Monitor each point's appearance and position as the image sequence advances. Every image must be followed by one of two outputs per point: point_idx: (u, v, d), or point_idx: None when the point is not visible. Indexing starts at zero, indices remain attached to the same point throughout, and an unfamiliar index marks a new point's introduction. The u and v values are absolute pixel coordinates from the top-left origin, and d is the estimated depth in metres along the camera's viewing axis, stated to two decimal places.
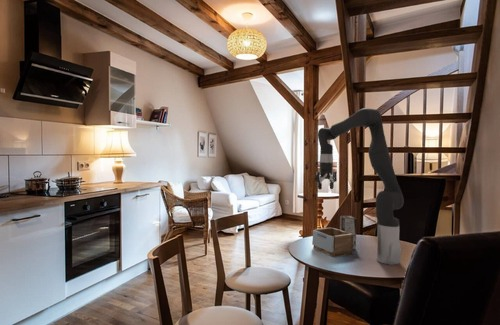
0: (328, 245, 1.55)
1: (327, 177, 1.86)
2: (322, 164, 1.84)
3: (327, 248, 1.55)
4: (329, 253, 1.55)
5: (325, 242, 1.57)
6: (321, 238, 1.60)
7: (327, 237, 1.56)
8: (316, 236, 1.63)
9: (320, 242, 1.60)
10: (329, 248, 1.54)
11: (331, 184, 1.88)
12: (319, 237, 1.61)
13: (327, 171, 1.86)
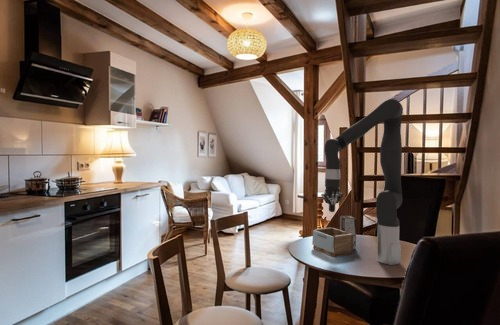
0: (328, 245, 1.55)
1: (334, 196, 1.60)
2: (328, 181, 1.59)
3: (327, 248, 1.55)
4: (329, 253, 1.55)
5: (325, 242, 1.57)
6: (321, 238, 1.60)
7: (327, 237, 1.56)
8: (316, 236, 1.63)
9: (320, 242, 1.60)
10: (329, 248, 1.54)
11: None
12: (319, 237, 1.61)
13: (334, 189, 1.60)
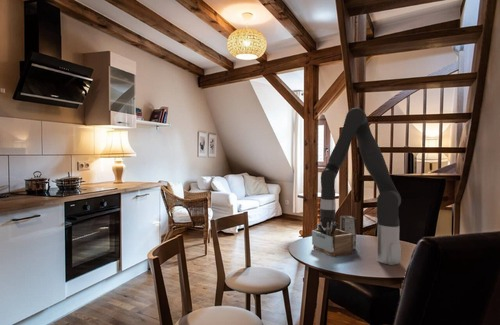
0: (327, 245, 1.54)
1: (329, 226, 1.60)
2: (322, 211, 1.58)
3: (327, 248, 1.55)
4: (329, 253, 1.55)
5: (324, 242, 1.56)
6: (320, 238, 1.59)
7: (326, 237, 1.55)
8: (315, 236, 1.63)
9: (320, 242, 1.60)
10: (329, 248, 1.54)
11: None
12: (318, 237, 1.61)
13: (329, 219, 1.60)
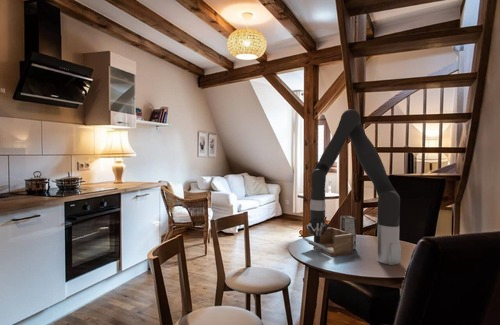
0: (324, 249, 1.54)
1: (318, 227, 1.57)
2: (312, 212, 1.55)
3: (326, 250, 1.55)
4: (329, 253, 1.55)
5: (320, 247, 1.55)
6: None
7: (318, 245, 1.53)
8: None
9: (316, 246, 1.59)
10: (327, 251, 1.53)
11: None
12: None
13: (318, 220, 1.57)
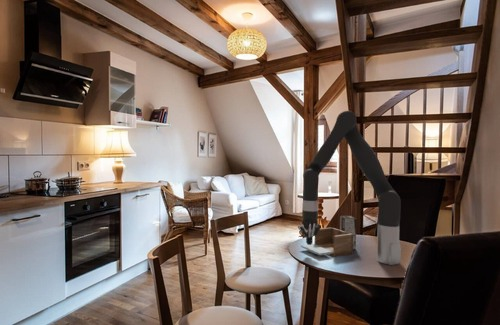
0: None
1: (311, 228, 1.55)
2: (304, 213, 1.53)
3: None
4: None
5: None
6: None
7: None
8: None
9: None
10: None
11: None
12: None
13: (311, 221, 1.55)
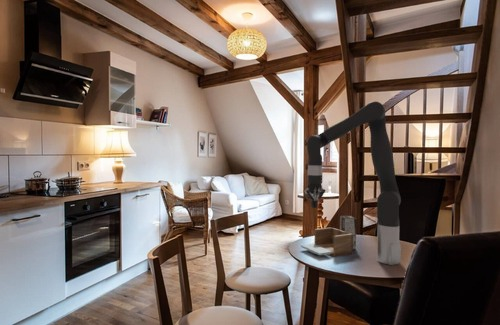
0: None
1: (316, 192, 1.62)
2: (310, 177, 1.61)
3: None
4: None
5: None
6: None
7: None
8: None
9: None
10: None
11: None
12: None
13: (316, 185, 1.62)
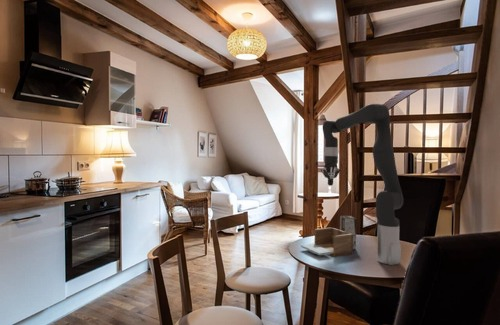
0: None
1: (332, 171, 1.81)
2: (327, 158, 1.79)
3: None
4: None
5: None
6: None
7: None
8: None
9: None
10: None
11: None
12: None
13: (332, 165, 1.81)
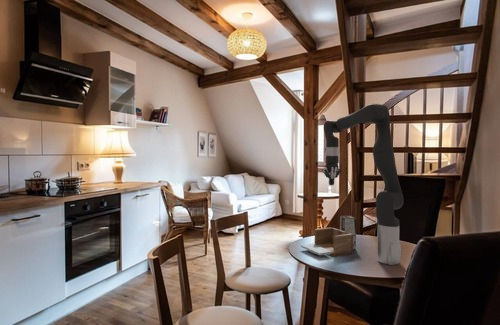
0: None
1: (333, 171, 1.82)
2: (328, 157, 1.80)
3: None
4: None
5: None
6: None
7: None
8: None
9: None
10: None
11: None
12: None
13: (333, 165, 1.81)
